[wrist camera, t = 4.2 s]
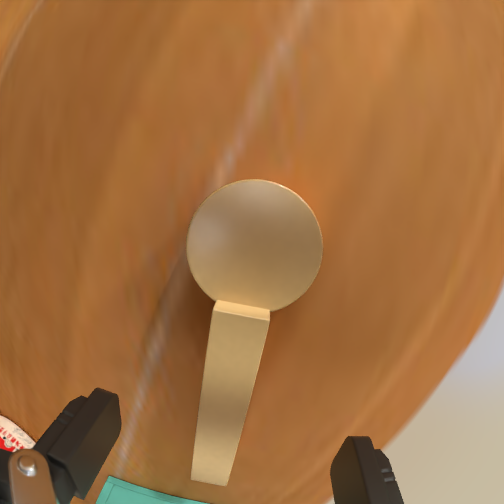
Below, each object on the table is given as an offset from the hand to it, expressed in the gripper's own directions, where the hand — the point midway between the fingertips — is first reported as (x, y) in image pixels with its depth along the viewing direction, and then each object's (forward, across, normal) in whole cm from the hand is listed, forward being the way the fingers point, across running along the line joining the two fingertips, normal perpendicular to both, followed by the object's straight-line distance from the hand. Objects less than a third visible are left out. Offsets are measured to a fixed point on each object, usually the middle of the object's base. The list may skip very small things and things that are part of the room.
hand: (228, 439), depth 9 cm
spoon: (+6, 0, 0) cm, 6 cm away
